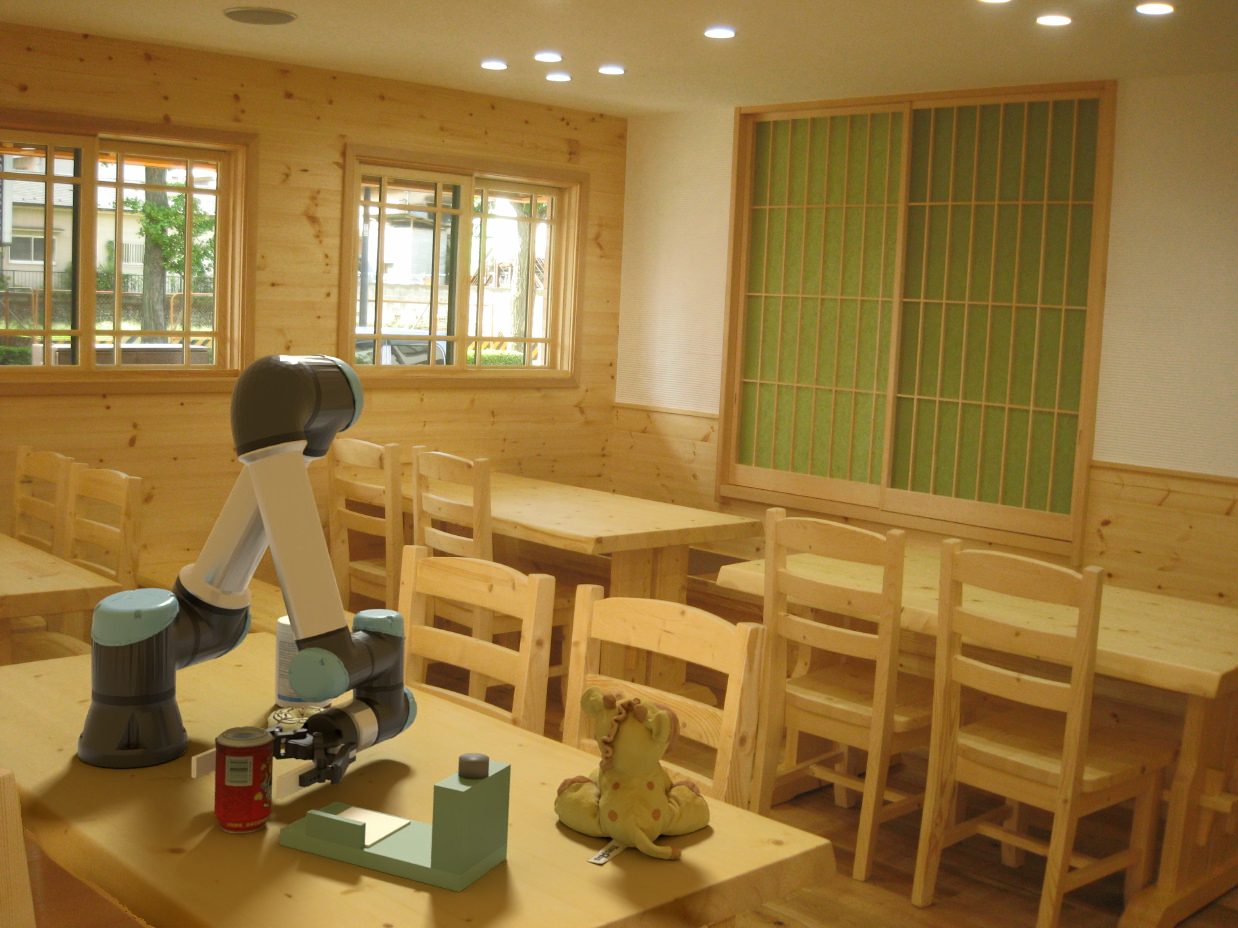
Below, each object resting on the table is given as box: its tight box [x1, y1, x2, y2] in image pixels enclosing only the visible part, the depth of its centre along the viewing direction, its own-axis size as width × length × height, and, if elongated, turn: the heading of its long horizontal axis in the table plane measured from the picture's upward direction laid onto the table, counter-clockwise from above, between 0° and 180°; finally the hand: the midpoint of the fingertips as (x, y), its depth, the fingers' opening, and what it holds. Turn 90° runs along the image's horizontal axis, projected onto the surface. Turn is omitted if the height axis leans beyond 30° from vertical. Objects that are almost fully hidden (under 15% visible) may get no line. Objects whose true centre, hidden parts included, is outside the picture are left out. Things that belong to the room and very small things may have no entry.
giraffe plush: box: [553, 685, 711, 865], centre depth 165 cm, size 20×24×19 cm
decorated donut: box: [266, 706, 327, 732], centre depth 198 cm, size 10×11×4 cm
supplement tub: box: [274, 615, 333, 709], centre depth 213 cm, size 10×10×15 cm
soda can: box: [213, 725, 274, 834], centre depth 161 cm, size 7×7×12 cm
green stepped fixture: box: [279, 752, 512, 893], centre depth 155 cm, size 26×11×14 cm, turn 65°
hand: (235, 777), depth 158 cm, fingers open, 13 cm apart
